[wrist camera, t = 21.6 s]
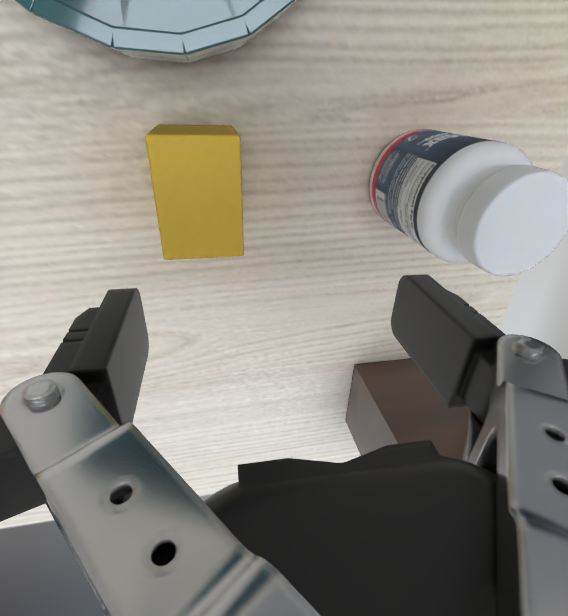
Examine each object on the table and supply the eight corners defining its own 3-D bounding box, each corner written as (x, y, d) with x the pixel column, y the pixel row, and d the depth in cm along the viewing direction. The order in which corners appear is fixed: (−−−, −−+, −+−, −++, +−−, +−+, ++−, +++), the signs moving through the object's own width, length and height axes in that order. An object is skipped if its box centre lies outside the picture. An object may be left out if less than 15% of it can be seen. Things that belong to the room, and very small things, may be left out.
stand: (354, 364, 27) (469, 571, 16) (427, 356, 28) (586, 545, 17) (345, 420, 30) (435, 629, 19) (411, 411, 32) (536, 603, 20)
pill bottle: (469, 139, 20) (624, 168, 13) (431, 229, 23) (544, 297, 15) (385, 118, 19) (504, 136, 11) (355, 216, 21) (437, 284, 14)
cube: (157, 124, 17) (144, 134, 13) (231, 125, 18) (240, 135, 14) (171, 227, 20) (163, 260, 16) (236, 225, 20) (244, 256, 17)
